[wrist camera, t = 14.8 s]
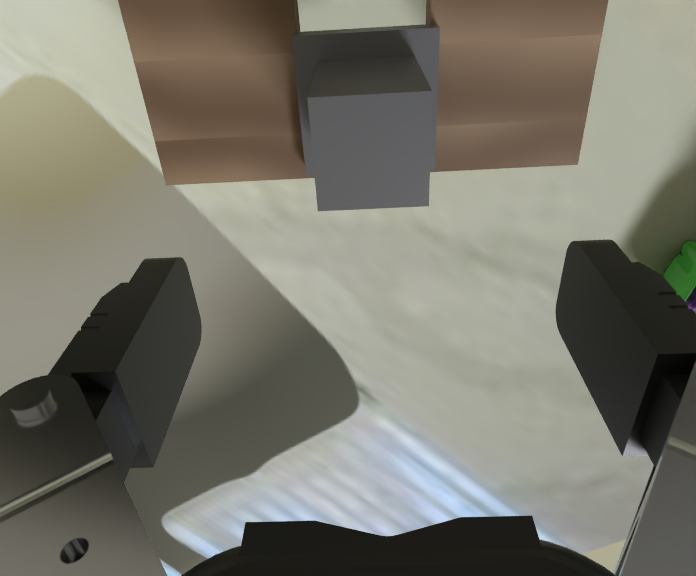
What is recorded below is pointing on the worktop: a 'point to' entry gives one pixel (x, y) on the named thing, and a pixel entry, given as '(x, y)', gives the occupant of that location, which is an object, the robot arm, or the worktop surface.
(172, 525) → the worktop surface
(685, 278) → the fruit basket
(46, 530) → the robot arm
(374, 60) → the keyhole peg
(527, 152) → the shelf
